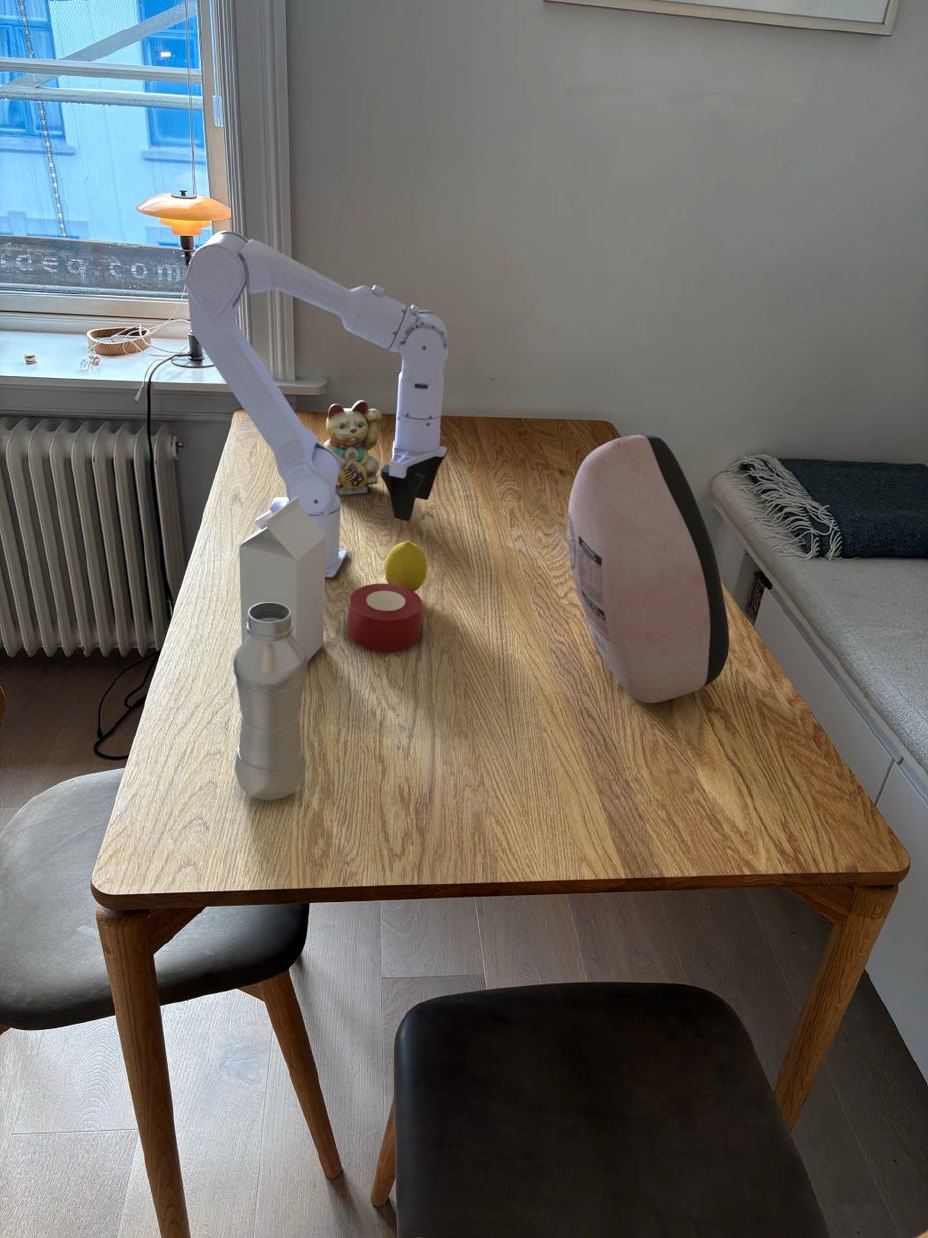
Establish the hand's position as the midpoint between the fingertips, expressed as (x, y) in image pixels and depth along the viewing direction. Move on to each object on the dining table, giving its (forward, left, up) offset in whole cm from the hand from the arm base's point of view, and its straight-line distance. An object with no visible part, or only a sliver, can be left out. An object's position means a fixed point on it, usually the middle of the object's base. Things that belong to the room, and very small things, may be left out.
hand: (411, 508), depth 129 cm
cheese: (0, -17, -9) cm, 20 cm away
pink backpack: (+31, -17, -10) cm, 37 cm away
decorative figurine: (-15, +25, -10) cm, 31 cm away
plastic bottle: (-4, -48, -10) cm, 49 cm away
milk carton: (-10, -25, -10) cm, 29 cm away
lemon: (+1, -7, -10) cm, 12 cm away
